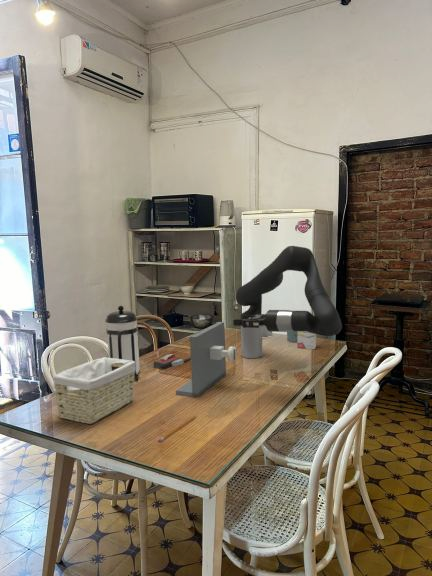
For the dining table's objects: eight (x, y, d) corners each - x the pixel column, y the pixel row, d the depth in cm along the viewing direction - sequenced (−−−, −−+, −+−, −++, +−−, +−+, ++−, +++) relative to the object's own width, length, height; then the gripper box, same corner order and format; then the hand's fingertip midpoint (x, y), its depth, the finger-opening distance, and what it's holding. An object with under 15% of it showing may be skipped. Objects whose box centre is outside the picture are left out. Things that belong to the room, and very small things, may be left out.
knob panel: (235, 375, 174) (233, 322, 171) (208, 398, 150) (206, 337, 147) (206, 372, 179) (204, 321, 176) (176, 394, 155) (173, 335, 153)
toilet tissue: (275, 336, 238) (275, 321, 237) (255, 339, 232) (254, 324, 231) (267, 333, 246) (267, 318, 245) (247, 336, 240) (246, 321, 239)
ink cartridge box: (297, 348, 212) (296, 319, 210) (299, 345, 216) (299, 317, 214) (314, 349, 208) (314, 320, 206) (316, 347, 212) (316, 318, 211)
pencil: (160, 442, 120) (198, 417, 136) (159, 439, 120) (196, 414, 136) (158, 443, 120) (196, 418, 136) (157, 440, 120) (194, 415, 136)
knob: (237, 359, 161) (237, 345, 161) (232, 363, 156) (231, 348, 155) (223, 358, 164) (222, 343, 163) (217, 362, 158) (216, 347, 158)
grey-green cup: (297, 344, 219) (296, 321, 218) (281, 341, 227) (281, 318, 226) (309, 340, 226) (308, 318, 225) (293, 337, 234) (293, 315, 232)
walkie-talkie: (165, 371, 183) (194, 360, 199) (165, 361, 183) (194, 350, 199) (150, 368, 188) (179, 357, 204) (150, 359, 188) (179, 348, 204)
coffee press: (97, 379, 175) (92, 307, 172) (129, 369, 187) (125, 301, 183) (121, 388, 164) (116, 311, 160) (154, 377, 175) (150, 305, 172)
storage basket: (104, 394, 159) (101, 355, 157) (139, 400, 151) (137, 359, 150) (53, 419, 138) (50, 375, 136) (92, 428, 130) (88, 381, 128)
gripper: (287, 307, 153) (246, 307, 161) (273, 313, 141) (229, 313, 149) (288, 327, 154) (247, 326, 162) (274, 335, 141) (231, 334, 149)
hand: (238, 320), depth 155 cm, fingers open, 8 cm apart
